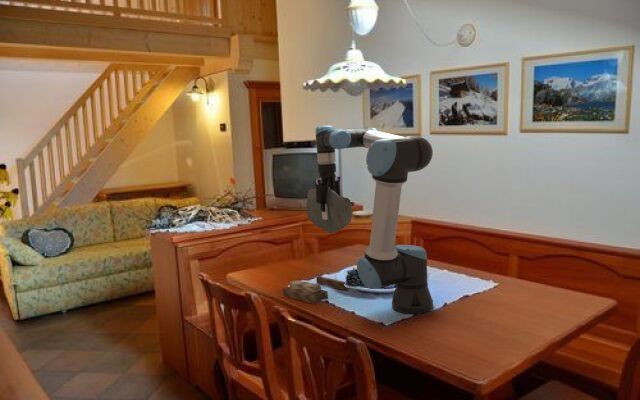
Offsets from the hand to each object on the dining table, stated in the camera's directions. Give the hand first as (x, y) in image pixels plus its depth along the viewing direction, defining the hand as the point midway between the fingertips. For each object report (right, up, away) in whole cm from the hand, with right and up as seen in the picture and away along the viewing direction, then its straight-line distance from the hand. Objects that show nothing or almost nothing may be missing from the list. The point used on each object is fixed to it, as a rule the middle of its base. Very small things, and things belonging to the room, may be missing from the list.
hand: (330, 217), depth 205 cm
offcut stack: (-10, -33, -5) cm, 35 cm away
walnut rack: (-6, -32, -1) cm, 32 cm away
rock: (0, -7, +1) cm, 7 cm away
